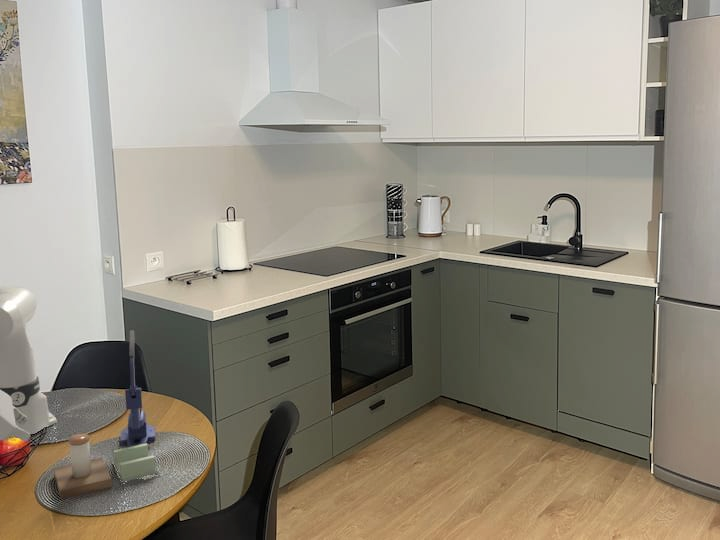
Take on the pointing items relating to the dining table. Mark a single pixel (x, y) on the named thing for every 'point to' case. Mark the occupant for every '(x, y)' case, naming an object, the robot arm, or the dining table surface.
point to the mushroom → (80, 455)
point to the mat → (138, 480)
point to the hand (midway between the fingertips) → (26, 429)
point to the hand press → (135, 410)
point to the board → (82, 480)
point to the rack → (134, 462)
